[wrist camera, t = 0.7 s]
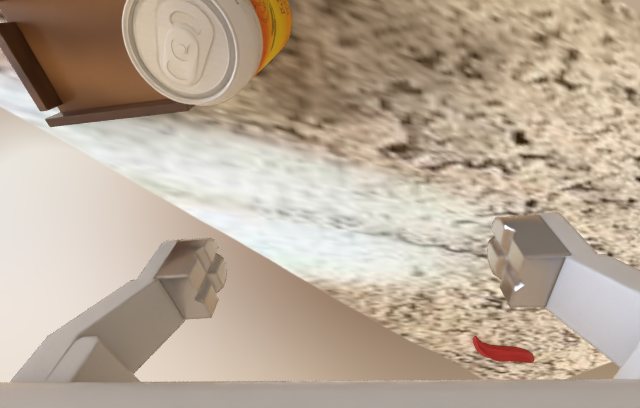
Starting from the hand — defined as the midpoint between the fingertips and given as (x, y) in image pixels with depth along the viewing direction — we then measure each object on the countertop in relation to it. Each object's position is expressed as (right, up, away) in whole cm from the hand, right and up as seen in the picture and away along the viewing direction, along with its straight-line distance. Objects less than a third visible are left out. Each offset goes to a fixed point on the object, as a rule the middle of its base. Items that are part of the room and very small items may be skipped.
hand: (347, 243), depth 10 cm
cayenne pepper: (+28, -22, +41) cm, 54 cm away
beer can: (-6, +17, +17) cm, 25 cm away
